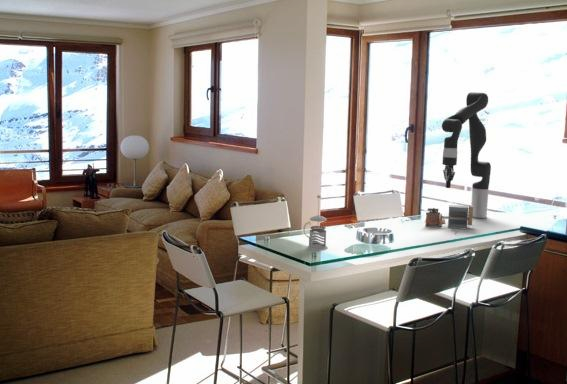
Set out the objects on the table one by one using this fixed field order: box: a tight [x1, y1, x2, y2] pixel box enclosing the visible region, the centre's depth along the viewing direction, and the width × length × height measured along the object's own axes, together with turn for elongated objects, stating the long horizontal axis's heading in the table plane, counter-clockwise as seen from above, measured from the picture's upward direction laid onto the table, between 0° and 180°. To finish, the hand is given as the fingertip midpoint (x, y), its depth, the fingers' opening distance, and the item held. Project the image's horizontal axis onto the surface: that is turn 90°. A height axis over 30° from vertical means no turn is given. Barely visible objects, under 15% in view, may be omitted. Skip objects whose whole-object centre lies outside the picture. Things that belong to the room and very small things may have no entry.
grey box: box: [447, 204, 469, 230], centre depth 366 cm, size 7×10×12 cm, turn 77°
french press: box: [303, 194, 329, 251], centre depth 310 cm, size 10×12×25 cm
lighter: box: [425, 207, 441, 227], centre depth 368 cm, size 8×3×10 cm, turn 100°
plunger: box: [439, 204, 474, 227], centre depth 366 cm, size 6×17×12 cm, turn 77°
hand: (447, 187), depth 364 cm, fingers closed
